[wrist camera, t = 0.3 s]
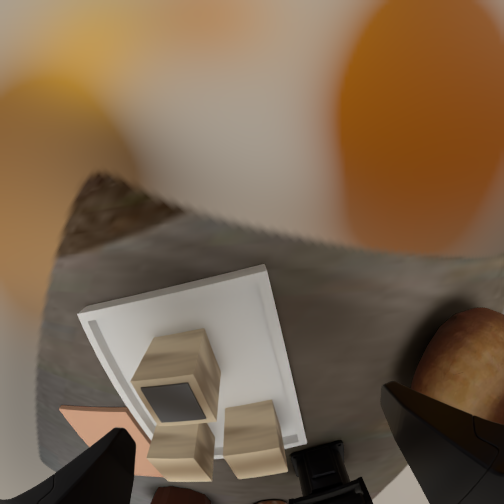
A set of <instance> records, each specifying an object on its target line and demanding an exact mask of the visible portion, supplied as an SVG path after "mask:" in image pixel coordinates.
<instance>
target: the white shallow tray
mask: <svg viewBox="0 0 504 504" xmlns="http://www.w3.org/2000/svg"><path fill="white" fill-rule="evenodd" d="M77 315H78V317H79V319H80V322H81V324H82V326H83V328H84V331H85V333H86V335H87V337H88V339H89V341H90V343H91V345H92V347H93V349H94V351H95V353H96V355H97V357H98V359H99V361H100V362H101V364H102V366H103V368H104V370H105V371H106V373H107V375H108V377H109V378H110V380H111V382H112V384H113V385H114V387H115V389H116V390H117V392H118V393H119V395H120V397H121V398H122V400H123V401H124V403H125V404H126V406H127V407H128V409H129V410H130V412H131V413H132V415H133V416H134V418H135V419H136V421H137V422H138V423H139V425H140V426H141V428H142V429H143V430H144V432H145V433H146V434H147V436H148V437H149V438H150V440H151V441H152V437H153V434H154V431H155V428H156V424H157V423H156V422H155V420H154V419H153V417H152V416H151V414H150V413H149V411H148V410H147V408H146V407H145V405H144V403H143V402H142V400H141V399H140V397H139V395H138V394H137V392H136V390H135V389H134V387H133V385H132V383H131V382H130V381H131V379H132V377H133V375H134V373H135V371H136V370H137V368H138V366H139V364H140V362H141V360H142V358H143V356H144V354H145V353H146V351H147V349H148V347H149V345H150V343H151V342H152V340H153V338H154V337H160V336H166V335H171V334H177V333H182V332H187V331H192V330H197V329H202V328H205V331H206V334H207V337H208V339H209V342H210V345H211V347H212V350H213V353H214V355H215V358H216V360H217V363H218V366H219V368H220V371H221V377H220V388H219V400H218V412H217V422H209V423H207V424H208V426H209V428H210V429H211V431H212V433H213V434H214V436H215V448H214V459H222V458H224V457H223V442H224V421H225V408H228V407H234V406H240V405H246V404H251V403H257V402H262V401H266V400H271V399H272V401H273V404H274V408H275V411H276V414H277V417H278V420H279V424H280V427H281V432H282V438H283V444H284V449H287V448H291V447H296V446H300V445H304V444H307V440H306V436H305V431H304V427H303V423H302V418H301V414H300V409H299V405H298V400H297V396H296V392H295V387H294V383H293V379H292V374H291V370H290V366H289V361H288V357H287V353H286V349H285V344H284V340H283V336H282V332H281V327H280V323H279V319H278V315H277V310H276V306H275V302H274V298H273V294H272V290H271V285H270V281H269V277H268V273H267V269H266V266H265V264H261V265H257V266H253V267H249V268H245V269H241V270H237V271H233V272H229V273H225V274H221V275H217V276H213V277H209V278H205V279H201V280H196V281H192V282H188V283H184V284H180V285H175V286H171V287H167V288H163V289H159V290H154V291H150V292H146V293H141V294H137V295H133V296H128V297H124V298H120V299H115V300H111V301H106V302H102V303H97V304H93V305H88V306H86V307H85V308H84V309H82V310H81V311H80V312H79V313H78V314H77Z"/></svg>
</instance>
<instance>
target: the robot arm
mask: <svg viewBox="0 0 504 504" xmlns="http://www.w3.org/2000/svg"><path fill="white" fill-rule="evenodd" d="M381 407H382V409H383V412H384V414H385V416H386V419H387V421H388V424H389V426H390V429H391V431H392V434H393V436H394V439H395V441H396V443H397V445H398V446H399V448H400V450H401V452H402V454H403V455H404V457H405V459H406V461H407V462H408V464H409V466H410V468H411V470H412V472H413V473H414V475H415V477H416V479H417V481H418V482H419V484H420V486H421V488H422V490H423V492H424V494H425V495H426V497H427V499H428V501H429V503H430V504H504V424H500V423H496V422H492V421H489V420H486V419H483V418H481V417H478V416H475V415H472V414H470V413H467V412H465V411H462V410H460V409H457V408H455V407H452V406H450V405H448V404H445V403H443V402H440V401H438V400H436V399H433V398H431V397H429V396H426V395H424V394H422V393H420V392H417V391H415V390H413V389H411V388H408V387H406V386H404V385H402V384H400V383H398V382H395V381H391V382H388V383H386V384H384V385H382V389H381ZM135 457H136V443H135V441H134V439H133V438H132V436H131V435H130V434H129V432H128V431H127V430H126V429H125V428H120V427H115V428H113V429H112V430H111V431H109V432H108V433H107V434H106V435H104V436H103V437H102V438H101V439H99V440H98V441H97V442H96V443H94V444H93V445H92V446H91V447H89V448H88V449H87V450H85V451H84V452H83V453H81V454H80V455H79V456H77V457H76V458H75V459H74V460H72V461H71V462H70V463H68V464H67V465H65V466H64V467H63V468H61V469H60V470H59V471H57V472H56V473H55V474H54V475H52V476H50V477H49V478H48V479H46V480H45V481H43V482H42V483H40V484H38V485H37V486H35V487H33V488H32V489H30V490H28V491H26V492H24V493H22V494H20V495H18V496H17V497H14V498H12V499H8V500H0V504H130V499H131V493H132V487H133V481H134V471H135ZM290 457H291V461H292V464H293V467H294V470H295V473H296V476H297V477H299V479H300V484H301V489H302V494H303V497H299V498H295V499H289V504H373V502H372V499H371V497H370V495H369V492H368V490H367V488H366V485H365V483H364V481H363V479H362V477H359V478H357V479H356V480H353V481H351V482H350V479H349V476H348V474H347V471H346V468H345V465H344V445H343V442H342V441H337V442H334V443H331V444H327V445H324V446H320V447H317V448H313V449H309V450H305V451H301V452H297V453H293V454H291V455H290Z"/></svg>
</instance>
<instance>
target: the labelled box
mask: <svg viewBox="0 0 504 504" xmlns="http://www.w3.org/2000/svg"><path fill="white" fill-rule="evenodd" d="M220 377H221V371H220V368H219V366H218V363H217V360H216V358H215V355H214V353H213V350H212V347H211V345H210V342H209V339H208V337H207V334H206V331H205V328H202V329H197V330H192V331H187V332H182V333H177V334H171V335H166V336H160V337H154V338H153V340H152V342H151V343H150V345H149V347H148V349H147V351H146V353H145V354H144V356H143V358H142V360H141V362H140V364H139V366H138V368H137V370H136V371H135V373H134V375H133V377H132V379H131V381H130V382H131V383H132V385H133V387H134V389H135V390H136V392H137V394H138V395H139V397H140V399H141V400H142V402H143V403H144V405H145V407H146V408H147V410H148V411H149V413H150V414H151V416H152V417H153V419H154V420H155V422H156V423H157V425H158V426H174V425H188V424H200V423H209V422H217V412H218V400H219V388H220Z"/></svg>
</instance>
